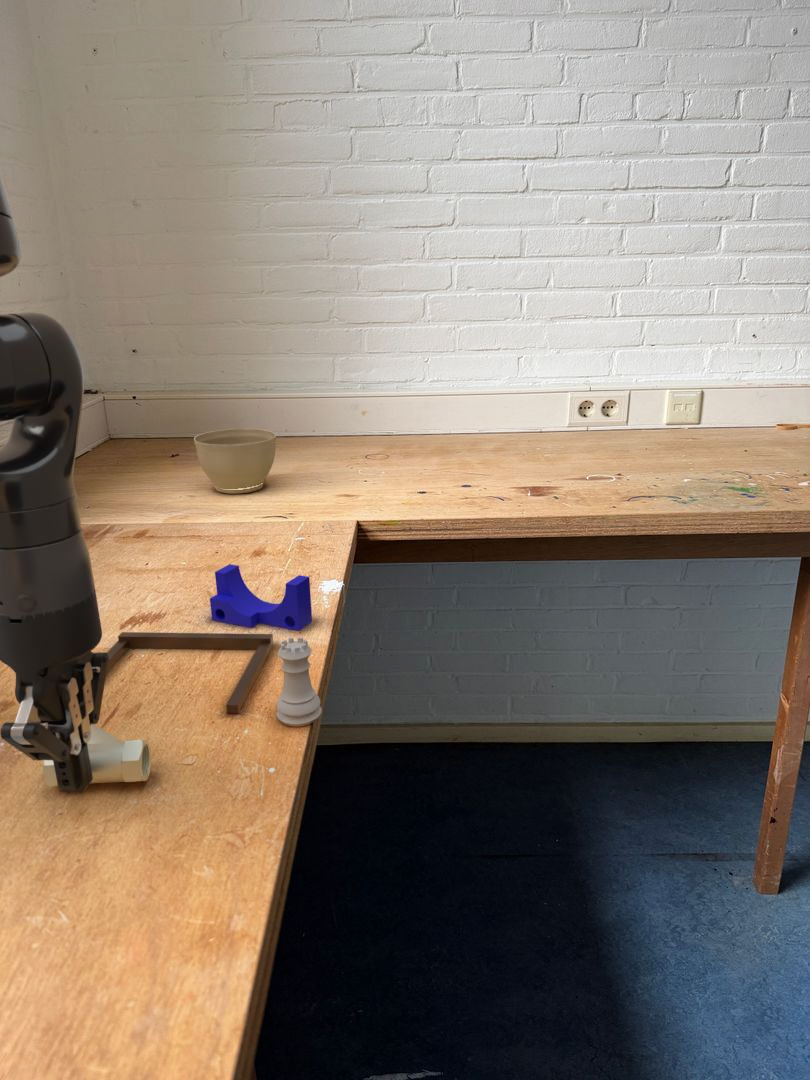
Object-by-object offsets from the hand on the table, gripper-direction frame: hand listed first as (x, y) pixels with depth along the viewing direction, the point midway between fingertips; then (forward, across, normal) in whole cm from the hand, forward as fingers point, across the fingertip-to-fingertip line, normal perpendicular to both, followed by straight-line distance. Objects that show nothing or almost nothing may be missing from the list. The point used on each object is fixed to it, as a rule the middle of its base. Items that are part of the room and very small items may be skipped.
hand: (76, 787), depth 65 cm
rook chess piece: (+2, -15, +15) cm, 21 cm away
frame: (+2, -22, 0) cm, 22 cm away
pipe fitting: (+2, -5, 0) cm, 5 cm away
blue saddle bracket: (+2, -37, +6) cm, 38 cm away
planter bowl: (+2, -101, -15) cm, 102 cm away
